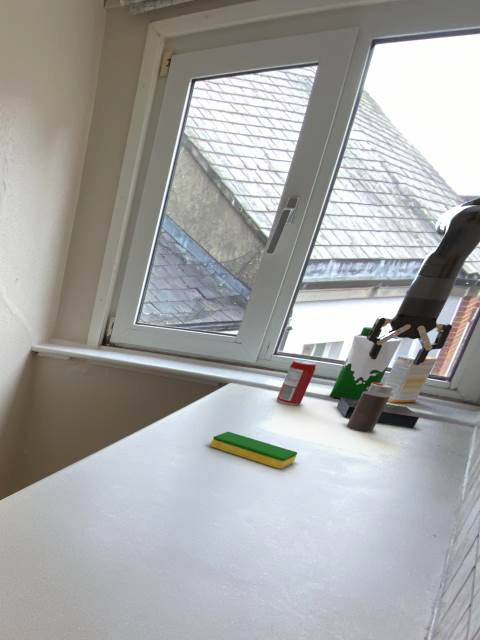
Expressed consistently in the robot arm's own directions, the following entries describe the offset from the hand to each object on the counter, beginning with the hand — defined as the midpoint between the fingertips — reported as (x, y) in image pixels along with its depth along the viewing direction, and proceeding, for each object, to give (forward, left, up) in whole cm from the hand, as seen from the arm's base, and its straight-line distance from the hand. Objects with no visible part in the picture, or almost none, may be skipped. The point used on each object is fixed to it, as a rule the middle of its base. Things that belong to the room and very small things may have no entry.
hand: (394, 361), depth 141 cm
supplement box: (-12, -25, -15) cm, 31 cm away
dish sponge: (+30, +53, -15) cm, 63 cm away
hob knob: (0, 0, -12) cm, 12 cm away
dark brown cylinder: (+4, +15, -15) cm, 21 cm away
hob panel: (-1, +1, -15) cm, 15 cm away
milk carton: (0, -18, -15) cm, 24 cm away
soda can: (+17, -1, -15) cm, 23 cm away
